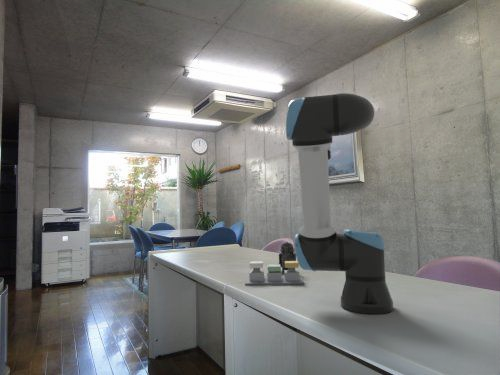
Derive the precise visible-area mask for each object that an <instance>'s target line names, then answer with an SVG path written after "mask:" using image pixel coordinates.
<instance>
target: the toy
mask: <svg viewBox="0 0 500 375" xmlns="http://www.w3.org/2000/svg"><path fill="white" fill-rule="evenodd" d="M279 251H280V253H279V254H278V265H279V264H280V266H281V274H282V275H284V270H288V268H285V261H297V257H296V252H295V247H294V244H292V243H290V242H288V241H286V242H284V243H281V245H280V249H279Z"/></svg>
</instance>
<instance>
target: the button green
mask: <svg viewBox="0 0 500 375" xmlns="http://www.w3.org/2000/svg"><path fill="white" fill-rule="evenodd" d="M267 270H268V271H271V272H278V271H282V267H281V266H280V264H279V263H278V264H267Z"/></svg>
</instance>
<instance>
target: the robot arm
mask: <svg viewBox="0 0 500 375" xmlns="http://www.w3.org/2000/svg"><path fill="white" fill-rule="evenodd" d="M374 118H375V109H374V106H373V104H372V102H371V101H370V100H368V98H366V97H364V96H361V95H358V94H354V93H346V92H345V93H335V94H326V95H325V94H324V95H315V96H304V97H299V98H295V99H292V100H290V102H289V103H288V107H287V112H286V121H285V133H286V134H285V136H286V139H287V140H288V141H292V142H291V143H292V147H294V149H296V150H297V153H298V155H297V156H298V167H299V181H300V183H299V184H300V196H301V209H302V210H301V211H302V212H301V213H302V224H303V225H302V226H301V227H300V228H299V230H298V233H296V234H295V236H294V252H295V254H296V261H298V264H299V267H300V268H301V269H303V270H305V271H313V272H318V271H321V272H322V271H324V272H325V271H326V272H345V273H344V274H345V282H344V284H343V289H342V293H341V295H340V306H341V308H342V309H345V310H346V311H350V312H353V313H359V314H367V315H370V314H371V315H380V314H381V315H382V314H387V313H391V312H392V311H394V301H393V298H392V296H391V293H390V292H391V291H390V289H389V287H388V285H387V282H386V265H385V264H386V263H385V245H384V238H383V235H381V233H380V234H379V233H377V232H374V231H367V230H360V229H359V230H358V229H349V228H348V229H347V228H346V229H343V231H342V233H337V227H335V226H334V225H333V224H332V219H331V218H332V217H331V213H332V212H331V198H330V197H331V196H330V177H329V176H330V174H329V173H330V172H329V161H330V159H332V156H331V153H332V152H331V145H332V144H333V137H337V136H345V135H347V136H348V135H350V134H355V133H357V132H360V131H362V130H365V129H367V127H369V126H370V125H371V123H372V122H373V121H374Z"/></svg>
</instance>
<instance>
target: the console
mask: <svg viewBox="0 0 500 375" xmlns="http://www.w3.org/2000/svg"><path fill="white" fill-rule="evenodd" d="M281 271H282V270H281ZM281 271H278V272H271V271H268V269H267V271H266V275H265V271H264V269H263V270H261V269H260V273H253V270H250V271H249V273H248V275H247V277H246V280H245V283H244V285H245V286H305V284H306V283H305V280H304V279H303V277H302V275H301V274H300V270H298V269H295V272H288V270H284V274H282V273H281Z"/></svg>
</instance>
